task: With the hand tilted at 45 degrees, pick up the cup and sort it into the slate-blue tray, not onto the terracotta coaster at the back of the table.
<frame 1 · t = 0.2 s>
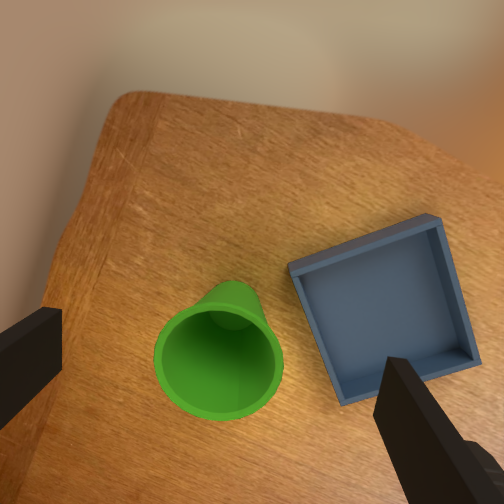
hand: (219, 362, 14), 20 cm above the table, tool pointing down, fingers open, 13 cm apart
blue tray: (377, 306, 34), on the table
cup: (233, 303, 35), on the table
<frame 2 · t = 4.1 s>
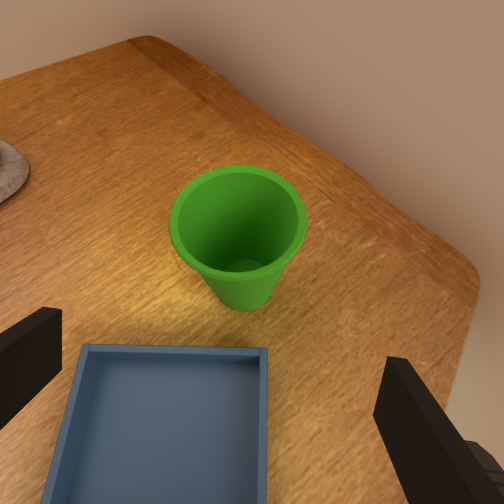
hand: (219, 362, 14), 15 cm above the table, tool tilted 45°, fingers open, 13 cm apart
blue tray: (170, 445, 26), on the table
cup: (245, 286, 33), on the table
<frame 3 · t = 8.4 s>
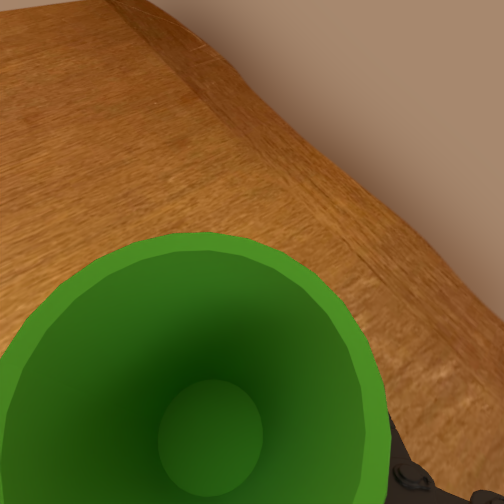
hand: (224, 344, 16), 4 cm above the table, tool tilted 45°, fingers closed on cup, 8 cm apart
cup: (211, 435, 17), on the table, touching gripper
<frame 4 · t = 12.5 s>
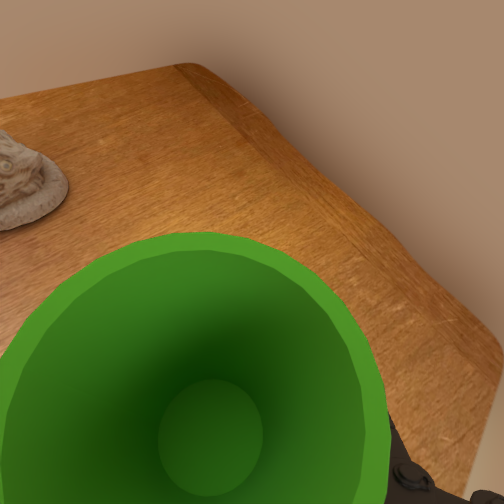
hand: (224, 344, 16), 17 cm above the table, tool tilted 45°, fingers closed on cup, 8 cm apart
cup: (211, 434, 17), point 13 cm above the table, touching gripper
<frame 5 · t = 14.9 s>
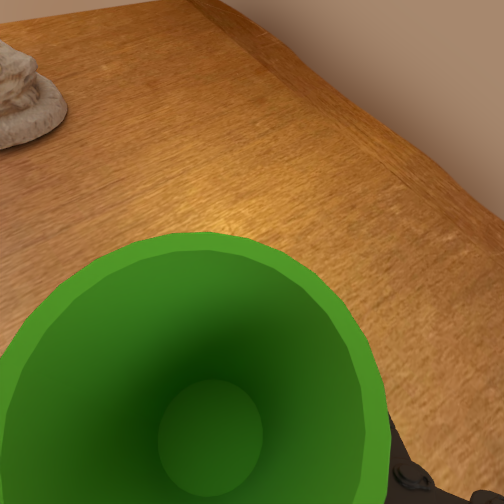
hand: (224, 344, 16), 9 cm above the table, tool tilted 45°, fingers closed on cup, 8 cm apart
cup: (211, 435, 17), point 5 cm above the table, touching gripper
when the fingers open (4 cm above the table, at t = 16.6 s): cup stays where it is, resting on blue tray.
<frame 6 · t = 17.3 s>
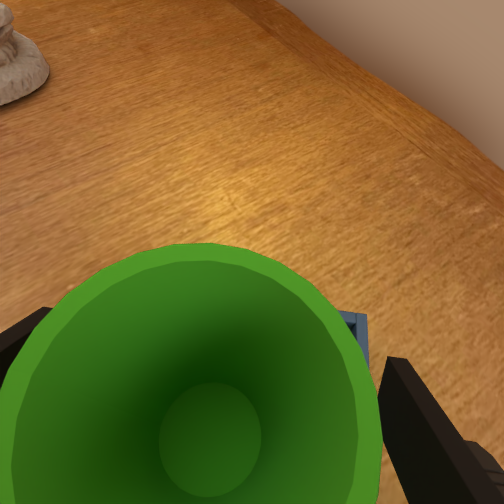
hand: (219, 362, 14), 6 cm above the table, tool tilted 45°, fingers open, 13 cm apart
blue tray: (213, 437, 18), on the table
cup: (211, 436, 18), resting on blue tray
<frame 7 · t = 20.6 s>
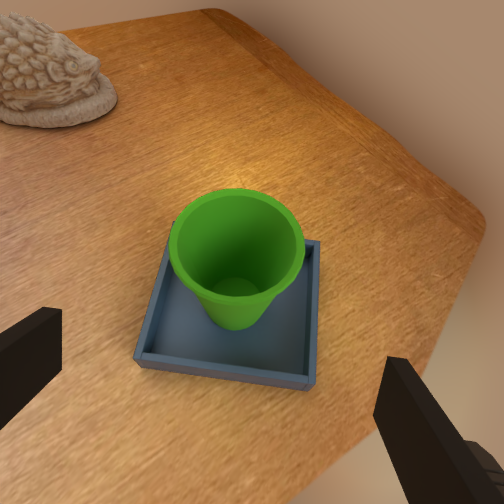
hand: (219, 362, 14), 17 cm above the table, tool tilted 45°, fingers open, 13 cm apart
blue tray: (235, 306, 33), on the table
sculpture: (52, 100, 47), on the table
cup: (234, 305, 33), resting on blue tray
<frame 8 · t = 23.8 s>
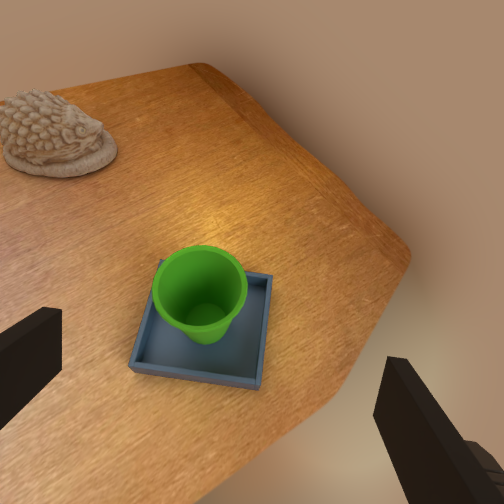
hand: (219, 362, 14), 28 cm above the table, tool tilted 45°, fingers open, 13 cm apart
blue tray: (207, 325, 44), on the table
sculpture: (64, 152, 57), on the table
cup: (206, 324, 43), resting on blue tray
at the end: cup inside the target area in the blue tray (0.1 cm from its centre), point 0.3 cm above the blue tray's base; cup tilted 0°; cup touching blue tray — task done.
